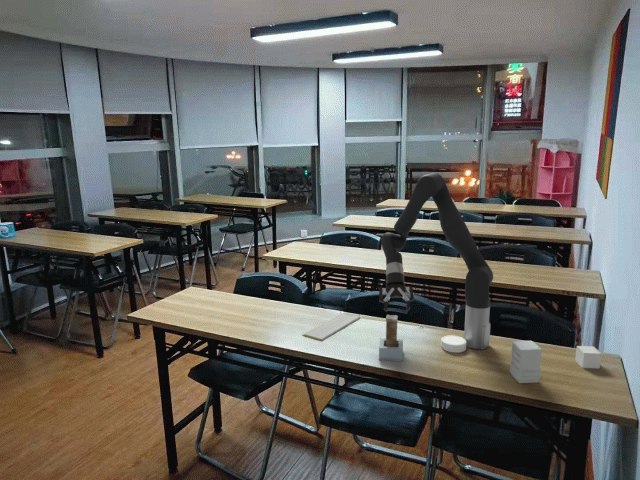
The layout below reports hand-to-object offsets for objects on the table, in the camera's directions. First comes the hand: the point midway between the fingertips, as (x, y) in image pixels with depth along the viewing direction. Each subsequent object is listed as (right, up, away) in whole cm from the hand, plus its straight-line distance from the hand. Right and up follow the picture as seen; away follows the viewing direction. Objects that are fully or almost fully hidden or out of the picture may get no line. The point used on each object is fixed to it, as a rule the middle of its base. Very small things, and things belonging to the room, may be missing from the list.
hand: (397, 311), depth 189 cm
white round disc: (+23, -15, -2) cm, 27 cm away
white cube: (+68, -17, -17) cm, 72 cm away
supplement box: (+40, -20, -27) cm, 52 cm away
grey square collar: (-4, -16, -8) cm, 18 cm away
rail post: (-4, -15, -8) cm, 18 cm away
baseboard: (-27, -11, +22) cm, 36 cm away
